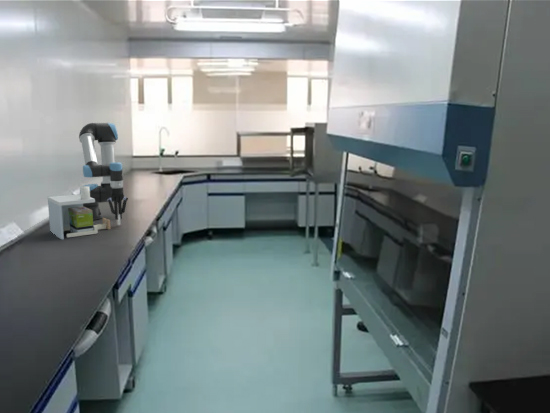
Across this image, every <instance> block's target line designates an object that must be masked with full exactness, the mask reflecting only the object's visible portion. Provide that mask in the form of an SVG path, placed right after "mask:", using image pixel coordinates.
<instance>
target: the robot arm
mask: <svg viewBox="0 0 550 413" xmlns="http://www.w3.org/2000/svg"><path fill="white" fill-rule="evenodd" d="M118 136H119V135H118V130H117V127H116V124H115V123H112V122H90V123H87V124H85V125H84V126H83V127H82V128H81V130H80V132H79V134H78V139H79V142H80V143H81V148H82V154H83V160H84V165H83V166H82V176H83V177H84V178H101V177H102V181H101V182H100V185H99V184H97V183H89V184H84V185H81V186H80V187H82V186H89V187H90V197H91V198H94V199H95V202H93V203H83V207H86V208H88V209H91V210H92V212H93V221H97V220H98V221H99V220H101V219H103V214H102V211H101V209H100V206H99V204H100V203H101V204H102V203H108V205H109V209H110V212H111V214H113V215H114V220H116V225H117V226H121V225H122V224H121V223H122V222H121V220H122V219H123V217H122V216H123V214H125V212H126V206H127V201H128V200H129V197H126V196H125V194H124V188H123V187H124V179H123V177H124V176H123V175H124V174H123V163H122V162H119V161H118V162H117V161H116V160H115V149H114V148H115V146H114V145H115V144H116V143H117V142H116V141H117V140H118V139H119V137H118ZM95 141H97V144H98V145H99V146H100V156H101V158H100V159H101V164H99V162H98V158H97V153H96V148H95Z"/></svg>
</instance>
